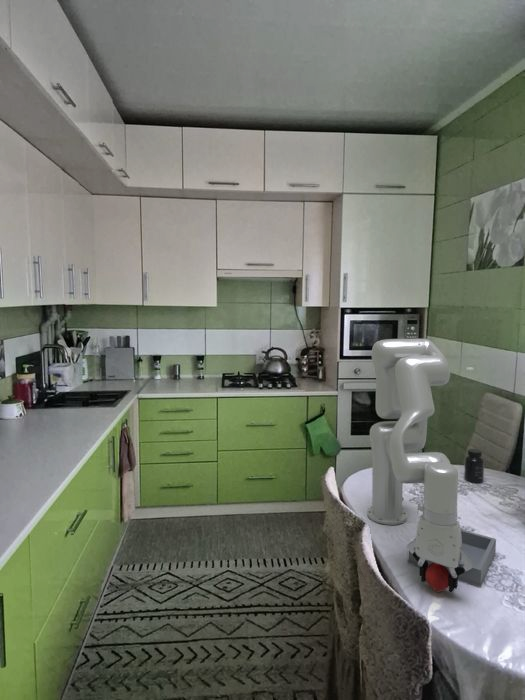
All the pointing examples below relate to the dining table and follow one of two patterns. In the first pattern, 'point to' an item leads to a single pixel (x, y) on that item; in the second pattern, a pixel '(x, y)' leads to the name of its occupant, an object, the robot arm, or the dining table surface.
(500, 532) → the dining table surface
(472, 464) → the supplement bottle
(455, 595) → the dining table surface
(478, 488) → the dining table surface
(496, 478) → the dining table surface
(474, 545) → the tray
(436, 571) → the onion
